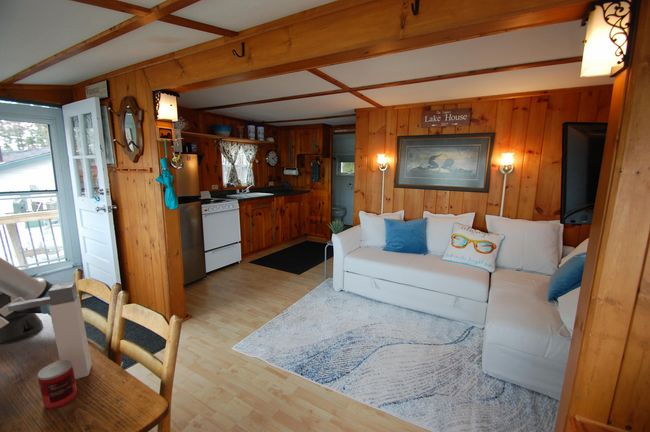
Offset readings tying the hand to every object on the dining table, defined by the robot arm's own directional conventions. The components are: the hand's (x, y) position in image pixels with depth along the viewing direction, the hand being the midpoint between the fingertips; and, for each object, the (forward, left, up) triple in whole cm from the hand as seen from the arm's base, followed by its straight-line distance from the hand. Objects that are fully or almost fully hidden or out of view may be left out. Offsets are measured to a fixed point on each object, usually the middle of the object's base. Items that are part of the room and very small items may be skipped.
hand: (14, 309), depth 87 cm
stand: (-1, +11, -28) cm, 31 cm away
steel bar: (-1, +6, 0) cm, 6 cm away
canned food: (+11, +9, -29) cm, 32 cm away
